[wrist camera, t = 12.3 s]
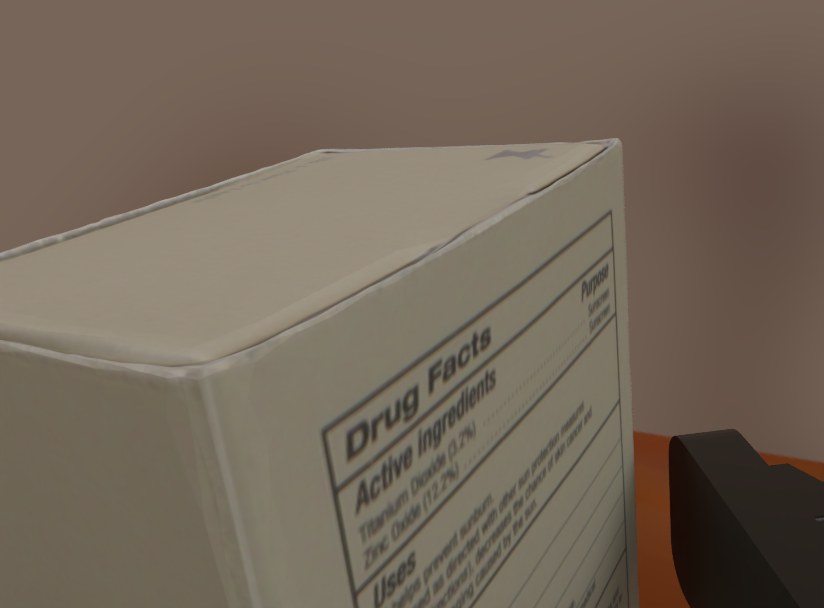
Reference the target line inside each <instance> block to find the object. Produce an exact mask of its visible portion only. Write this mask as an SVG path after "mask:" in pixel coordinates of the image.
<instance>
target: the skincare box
mask: <svg viewBox="0 0 824 608" xmlns="http://www.w3.org/2000/svg"><path fill="white" fill-rule="evenodd" d="M622 153H623V151H622V143H621V141H620V140H619V139H618V138H610V139H606V140H596V141H583V142H579V143H560V142H557V143H541V144H540V143H538V144H516V145H515V144H512V145H511V144H510V145H502V146H499V145H484V146H461V147H454V146H448V147H432V148H423V147H421V148H419V147H416V148H415V147H413V148H384V149H322V150H317V151H313V152H310V153H308V154H304V155H302V156H300V157H298V158H295V159H291V160H288V161H285V162H282V163H279V164H276V165H273V166H270V167H265V168H262V169H260V170H257V171H255V172H251V173H248V174H245V175H241V176H238V177H235V178H232V179H228V180H226V181H223V182H221V183H217V184H214V185H212V186H210V187H207V188H202V189H199V190H195V191H192V192H189V193H186V194H183V195H180V196H177V197H174V198H169V199H166V200H162V201H159V202H156V203H154V204H151V205H149V206H146V207H143V208H140V209H136V210H133V211H130V212H127V213H124V214H120V215H116V216H112V217H109V218H106V219H103V220H101V221H99V222H98V223H92V224H89V225H87V226H85V227H81V228H77V229H74V230H71V231H68V232H65V233H61V234H58V235H54V236H50V237H46V238H43V239H40V240H37V241H34V242H31V243H28V244H25V245H22V246H19V247H17V248H14V249H11V250H9V251H5V252H2V253H0V608H639V591H638V571H637V530H636V504H635V480H634V447H633V428H632V400H631V399H632V396H631V373H630V359H629V327H628V288H627V254H626V253H627V252H626V233H625V209H624V186H623V154H622Z"/></svg>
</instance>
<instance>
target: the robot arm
mask: <svg viewBox="0 0 824 608" xmlns="http://www.w3.org/2000/svg"><path fill="white" fill-rule="evenodd" d="M669 486H670V519H671V546H672V554H673V560H674V565H675V569H676V573H677V577H678V580H679V583H680V586H681V589H682V591H683V594H684V596H685V598H686V600H687V602H688V604H689V606H690V608H824V482H822V481H820V480H818V479H816V478H814V477H812V476H810V475H809V474H807V473H805V472H803V471H801V470H799V469H797V468H795V467H793V466H791V465H790V464H788V463H787V464H779V465H771V466H768V465H767V463H766V462H765V461H764V460H763V459H762V458H761V457H760V455H759V454H758V453H757V452H756V451H755V450H754V449H753V447H752V446H751V445H750V444H749V443H748V442H747V441H746V440H745V438H744V437H743V436H742V435H741V434H740V433H739V432H738V431H737V430H735V429H727V430H719V431H712V432H703V433H695V434H687V435H678V436H673V437H672V438H671V441H670V444H669Z"/></svg>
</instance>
